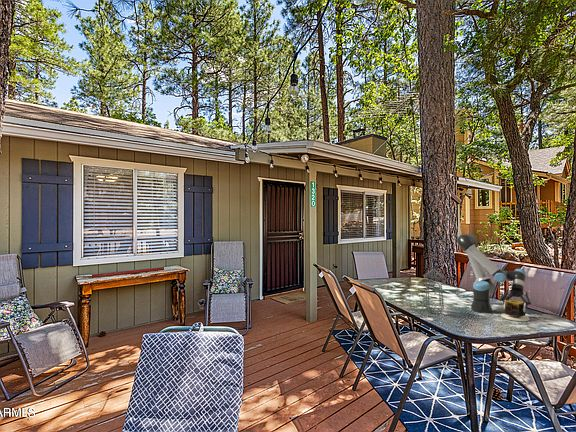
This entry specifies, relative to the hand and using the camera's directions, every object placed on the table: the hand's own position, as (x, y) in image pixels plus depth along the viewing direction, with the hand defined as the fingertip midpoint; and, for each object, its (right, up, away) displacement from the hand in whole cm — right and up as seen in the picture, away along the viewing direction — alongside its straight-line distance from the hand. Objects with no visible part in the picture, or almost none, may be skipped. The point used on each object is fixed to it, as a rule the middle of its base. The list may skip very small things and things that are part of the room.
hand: (514, 309), depth 248 cm
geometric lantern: (-52, -8, +19) cm, 56 cm away
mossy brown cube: (+2, -5, +2) cm, 5 cm away
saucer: (+2, -7, +2) cm, 7 cm away
